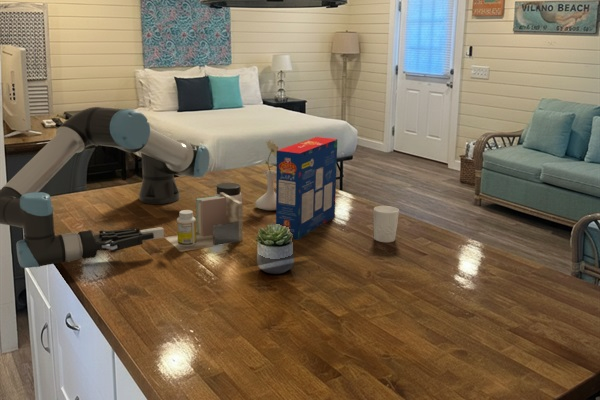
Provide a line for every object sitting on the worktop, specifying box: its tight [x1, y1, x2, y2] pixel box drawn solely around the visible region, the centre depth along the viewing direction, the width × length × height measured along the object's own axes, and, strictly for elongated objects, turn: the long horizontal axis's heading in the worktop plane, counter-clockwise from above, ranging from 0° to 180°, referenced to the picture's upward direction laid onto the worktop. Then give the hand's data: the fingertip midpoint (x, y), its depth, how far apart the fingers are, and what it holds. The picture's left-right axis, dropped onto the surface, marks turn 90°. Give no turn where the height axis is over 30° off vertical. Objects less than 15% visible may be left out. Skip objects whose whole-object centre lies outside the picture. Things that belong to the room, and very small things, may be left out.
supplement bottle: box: [176, 209, 197, 247], centre depth 183 cm, size 6×6×10 cm
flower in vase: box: [254, 139, 279, 211], centre depth 222 cm, size 13×11×25 cm
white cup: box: [373, 205, 400, 243], centre depth 194 cm, size 8×8×10 cm
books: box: [195, 195, 227, 237], centre depth 193 cm, size 5×8×12 cm, turn 121°
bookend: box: [213, 222, 240, 246], centre depth 185 cm, size 1×8×6 cm, turn 121°
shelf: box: [164, 192, 244, 253], centre depth 187 cm, size 14×20×13 cm
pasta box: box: [275, 136, 338, 241], centre depth 203 cm, size 28×8×28 cm, turn 152°
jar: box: [215, 182, 243, 204], centre depth 211 cm, size 9×8×12 cm
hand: (162, 232), depth 179 cm, fingers closed
